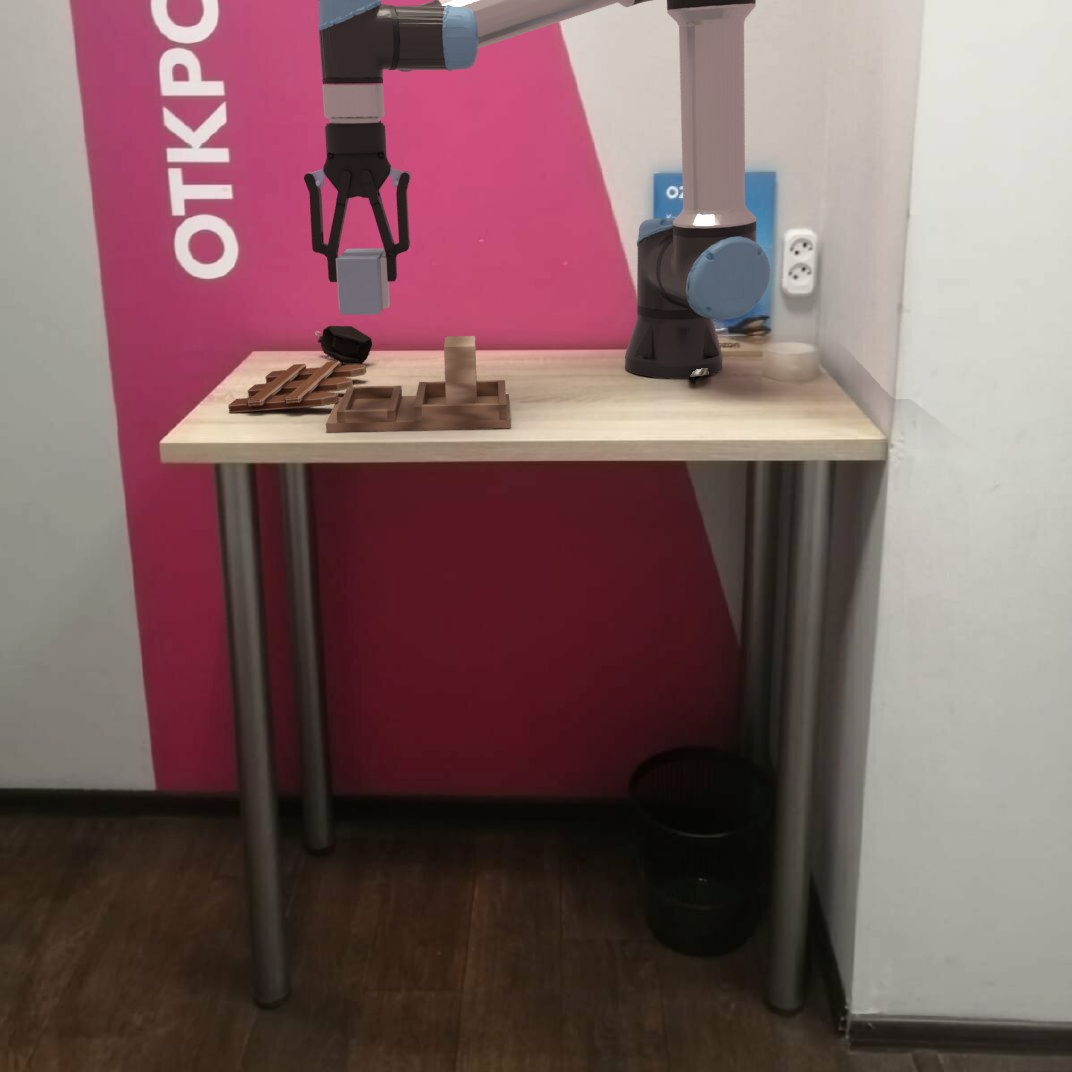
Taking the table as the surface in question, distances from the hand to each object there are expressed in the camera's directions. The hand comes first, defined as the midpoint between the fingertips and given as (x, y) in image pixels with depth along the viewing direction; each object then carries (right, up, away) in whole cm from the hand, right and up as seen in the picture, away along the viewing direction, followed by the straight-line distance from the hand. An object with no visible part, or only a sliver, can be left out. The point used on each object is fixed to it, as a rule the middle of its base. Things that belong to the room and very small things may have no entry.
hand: (364, 306), depth 167 cm
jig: (+7, -14, +5) cm, 16 cm away
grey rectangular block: (0, 0, 0) cm, 0 cm away
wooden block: (+13, -13, +5) cm, 19 cm away
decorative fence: (-11, -9, +17) cm, 23 cm away
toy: (-9, -2, +40) cm, 41 cm away
